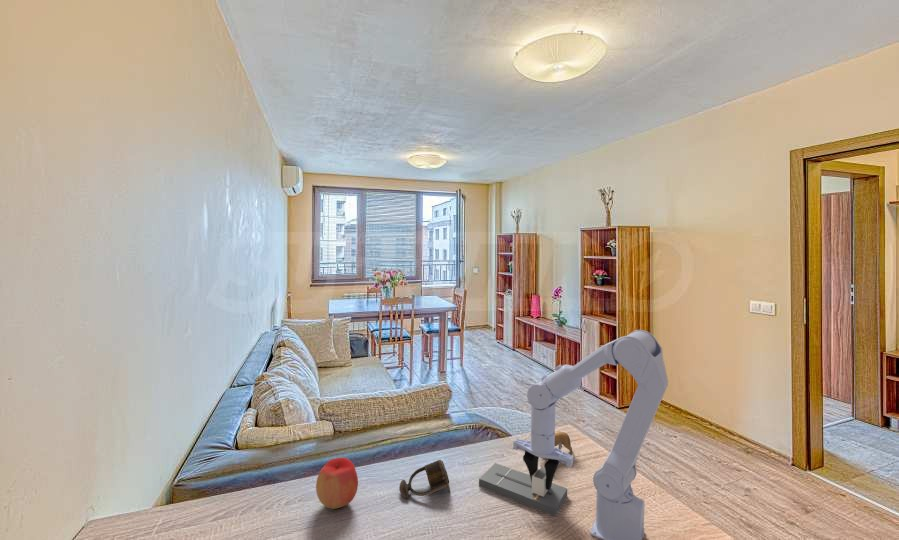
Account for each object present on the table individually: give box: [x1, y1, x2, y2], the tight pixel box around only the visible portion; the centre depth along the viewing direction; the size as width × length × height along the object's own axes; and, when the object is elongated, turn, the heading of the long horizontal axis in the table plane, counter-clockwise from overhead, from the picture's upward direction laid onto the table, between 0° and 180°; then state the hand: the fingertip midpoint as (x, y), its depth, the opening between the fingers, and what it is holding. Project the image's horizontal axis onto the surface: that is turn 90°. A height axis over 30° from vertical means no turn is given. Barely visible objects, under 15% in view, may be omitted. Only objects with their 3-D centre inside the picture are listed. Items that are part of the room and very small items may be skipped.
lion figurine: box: [544, 431, 573, 461], centre depth 114 cm, size 15×5×9 cm, turn 118°
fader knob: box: [532, 466, 548, 497], centre depth 94 cm, size 3×5×4 cm, turn 146°
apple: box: [315, 457, 359, 510], centre depth 91 cm, size 10×10×10 cm
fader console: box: [478, 462, 568, 518], centre depth 97 cm, size 20×9×2 cm, turn 56°
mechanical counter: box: [398, 459, 451, 499], centre depth 97 cm, size 7×13×10 cm
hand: (541, 484), depth 94 cm, fingers closed on fader knob, 3 cm apart
